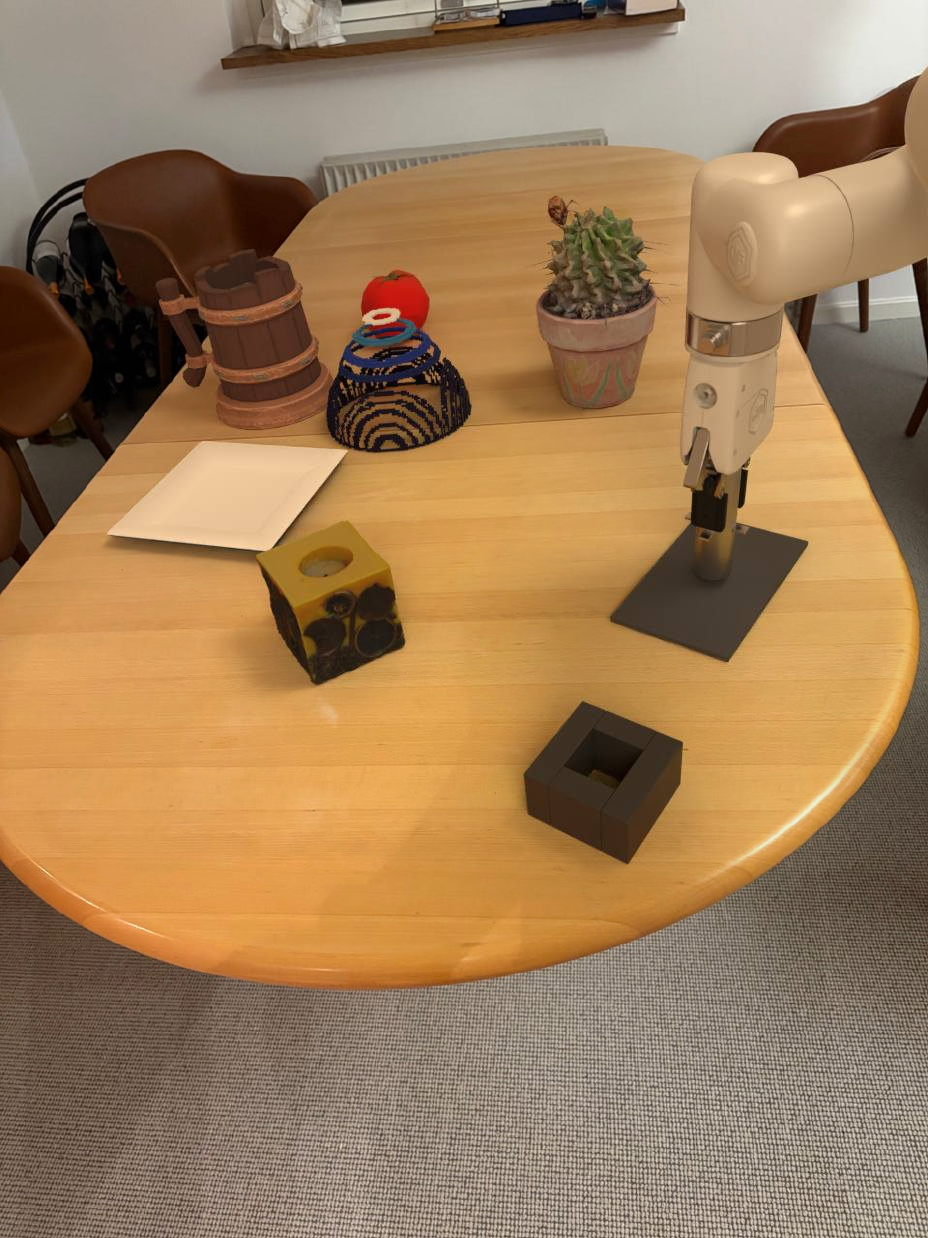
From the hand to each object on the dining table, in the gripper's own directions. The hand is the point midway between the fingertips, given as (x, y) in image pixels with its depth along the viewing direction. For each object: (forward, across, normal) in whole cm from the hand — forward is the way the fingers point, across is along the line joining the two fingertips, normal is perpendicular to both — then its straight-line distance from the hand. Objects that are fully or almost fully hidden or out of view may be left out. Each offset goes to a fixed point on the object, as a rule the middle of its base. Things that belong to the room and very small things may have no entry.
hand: (717, 513), depth 83 cm
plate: (+8, -12, +58) cm, 60 cm away
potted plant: (+8, +32, +30) cm, 45 cm away
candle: (+8, -25, +28) cm, 38 cm away
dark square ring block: (+8, -29, -4) cm, 30 cm away
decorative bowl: (+8, +15, +53) cm, 56 cm away
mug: (+8, +10, +76) cm, 77 cm away
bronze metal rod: (+7, 0, 0) cm, 7 cm away
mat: (+8, 0, 0) cm, 8 cm away
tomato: (+8, +37, +71) cm, 80 cm away
